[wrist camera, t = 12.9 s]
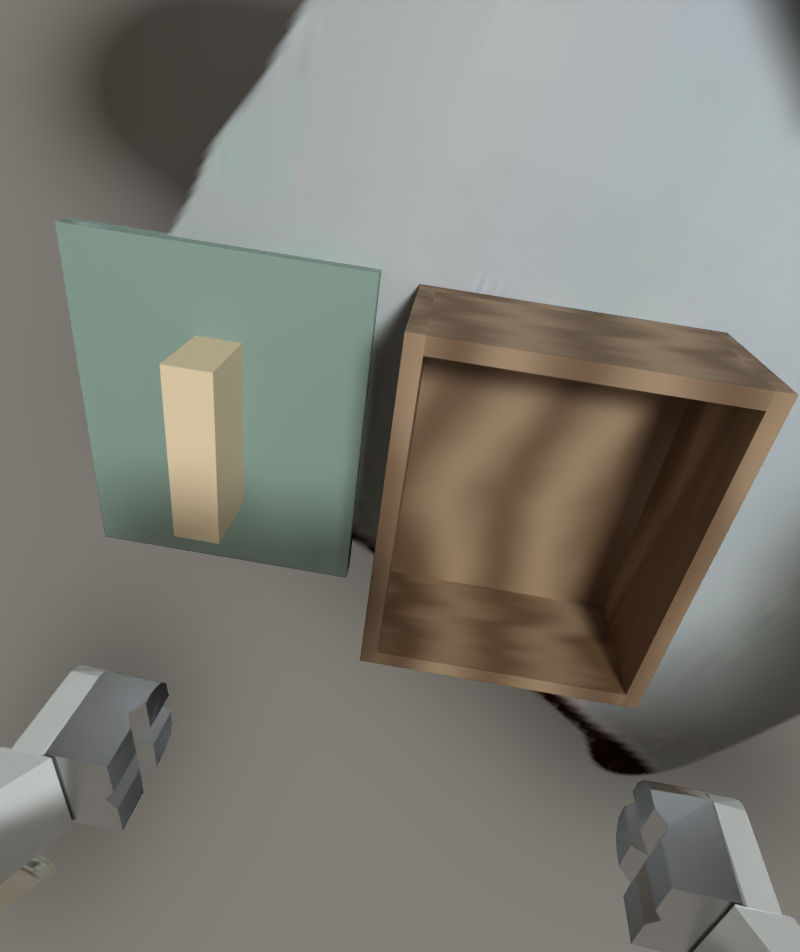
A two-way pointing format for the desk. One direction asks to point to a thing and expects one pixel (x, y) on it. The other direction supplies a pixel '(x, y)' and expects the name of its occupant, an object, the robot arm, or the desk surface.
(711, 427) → the brown wooden open box
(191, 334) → the lid
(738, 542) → the desk surface
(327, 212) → the desk surface
